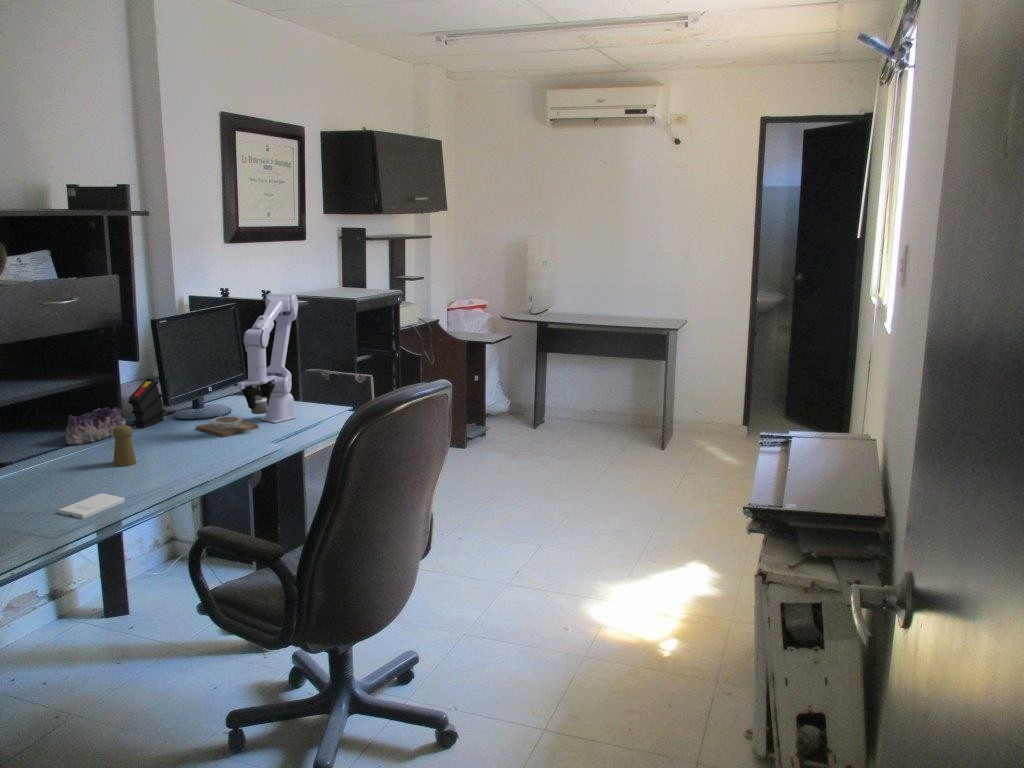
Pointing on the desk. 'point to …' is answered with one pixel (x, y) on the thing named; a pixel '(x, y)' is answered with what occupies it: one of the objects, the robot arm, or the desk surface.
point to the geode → (93, 426)
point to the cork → (123, 446)
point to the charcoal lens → (260, 405)
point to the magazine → (147, 404)
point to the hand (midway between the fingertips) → (258, 406)
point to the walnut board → (223, 433)
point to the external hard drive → (92, 505)
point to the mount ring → (227, 422)
